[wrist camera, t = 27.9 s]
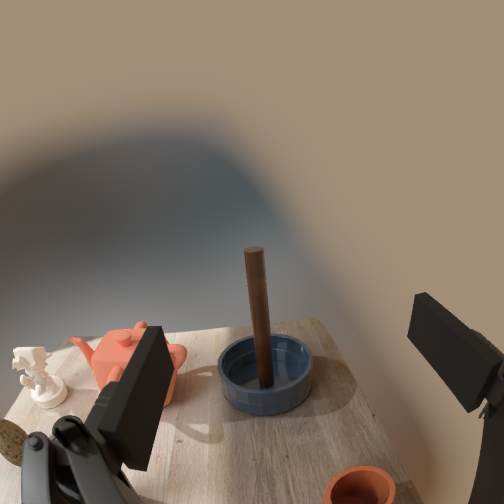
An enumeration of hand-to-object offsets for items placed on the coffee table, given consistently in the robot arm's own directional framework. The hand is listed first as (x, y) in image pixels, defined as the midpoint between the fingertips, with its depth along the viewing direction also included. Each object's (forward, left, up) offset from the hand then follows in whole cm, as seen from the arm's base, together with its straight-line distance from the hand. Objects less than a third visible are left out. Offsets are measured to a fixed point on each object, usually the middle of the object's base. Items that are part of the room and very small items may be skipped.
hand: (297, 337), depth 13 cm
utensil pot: (-6, +3, -27) cm, 28 cm away
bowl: (+1, -24, -27) cm, 36 cm away
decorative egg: (+41, -1, -27) cm, 50 cm away
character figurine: (+45, -19, -27) cm, 56 cm away
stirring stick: (+1, -24, -27) cm, 36 cm away
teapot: (+24, -23, -27) cm, 43 cm away
